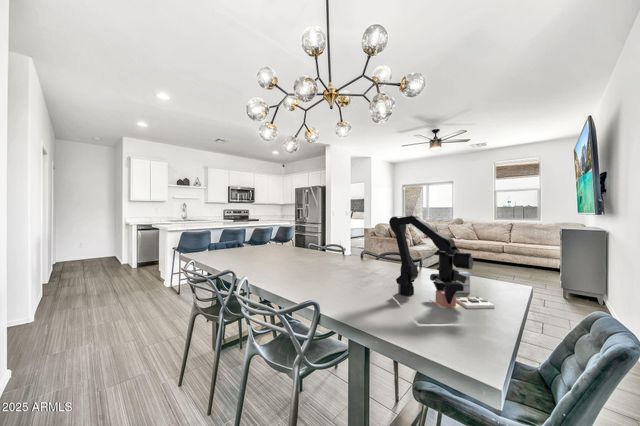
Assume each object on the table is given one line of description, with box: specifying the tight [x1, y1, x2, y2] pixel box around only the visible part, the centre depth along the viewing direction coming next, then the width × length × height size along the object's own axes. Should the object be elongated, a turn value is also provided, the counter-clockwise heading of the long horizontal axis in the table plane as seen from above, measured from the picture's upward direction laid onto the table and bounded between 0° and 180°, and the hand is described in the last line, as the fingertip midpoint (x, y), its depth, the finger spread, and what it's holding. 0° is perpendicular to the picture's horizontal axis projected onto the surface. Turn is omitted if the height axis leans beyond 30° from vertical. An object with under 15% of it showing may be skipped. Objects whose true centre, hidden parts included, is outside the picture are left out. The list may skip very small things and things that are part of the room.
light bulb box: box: [452, 270, 471, 294], centre depth 137 cm, size 11×7×11 cm, turn 84°
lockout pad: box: [429, 299, 464, 309], centre depth 118 cm, size 10×10×1 cm
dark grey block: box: [468, 299, 479, 303], centre depth 118 cm, size 3×3×2 cm
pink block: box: [435, 289, 457, 306], centre depth 118 cm, size 6×6×5 cm
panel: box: [456, 296, 496, 309], centre depth 118 cm, size 12×10×2 cm
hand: (445, 301), depth 118 cm, fingers closed on pink block, 6 cm apart
